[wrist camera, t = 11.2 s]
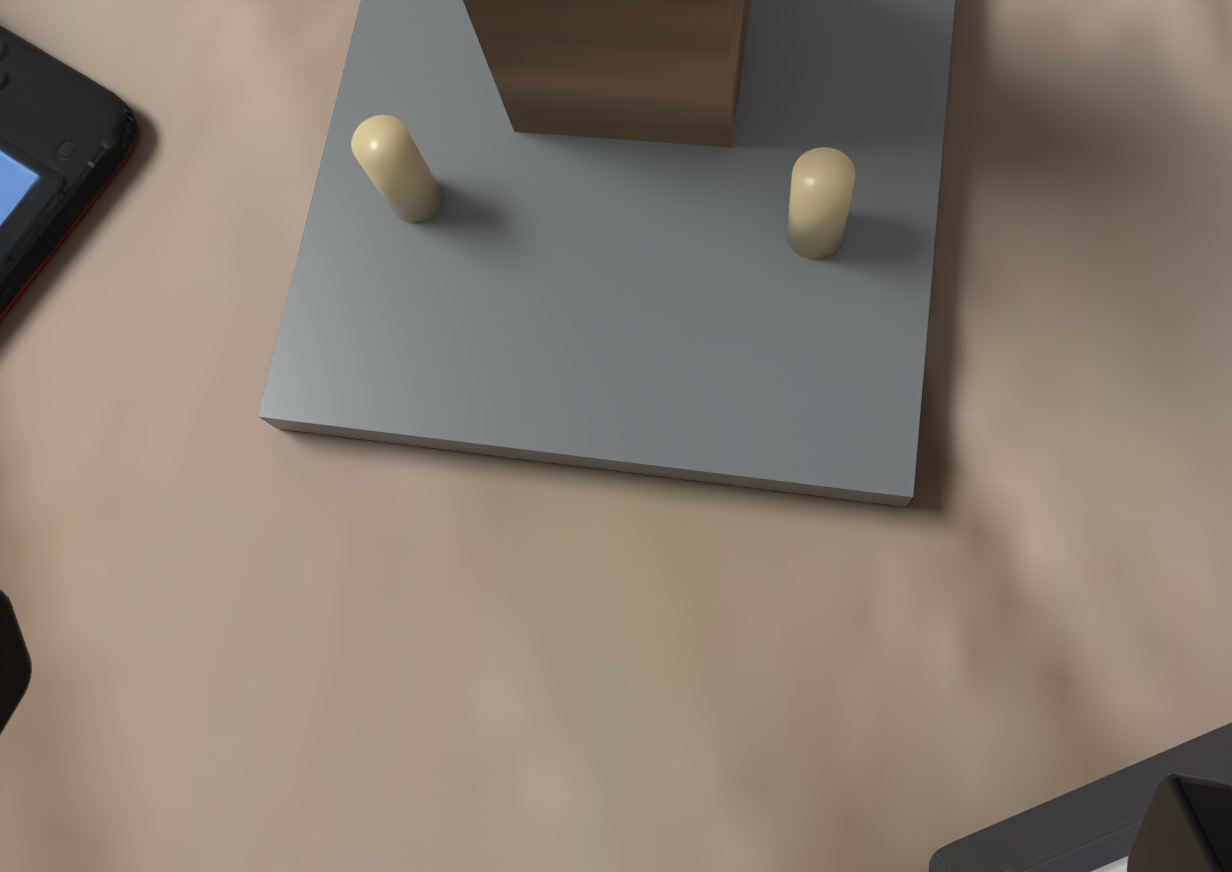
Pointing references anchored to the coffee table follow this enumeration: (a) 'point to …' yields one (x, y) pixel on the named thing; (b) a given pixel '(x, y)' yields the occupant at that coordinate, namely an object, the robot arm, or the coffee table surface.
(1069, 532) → the coffee table surface
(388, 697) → the coffee table surface
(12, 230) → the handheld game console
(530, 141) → the plate
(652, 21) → the walnut block
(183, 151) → the coffee table surface
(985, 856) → the grey and red box
